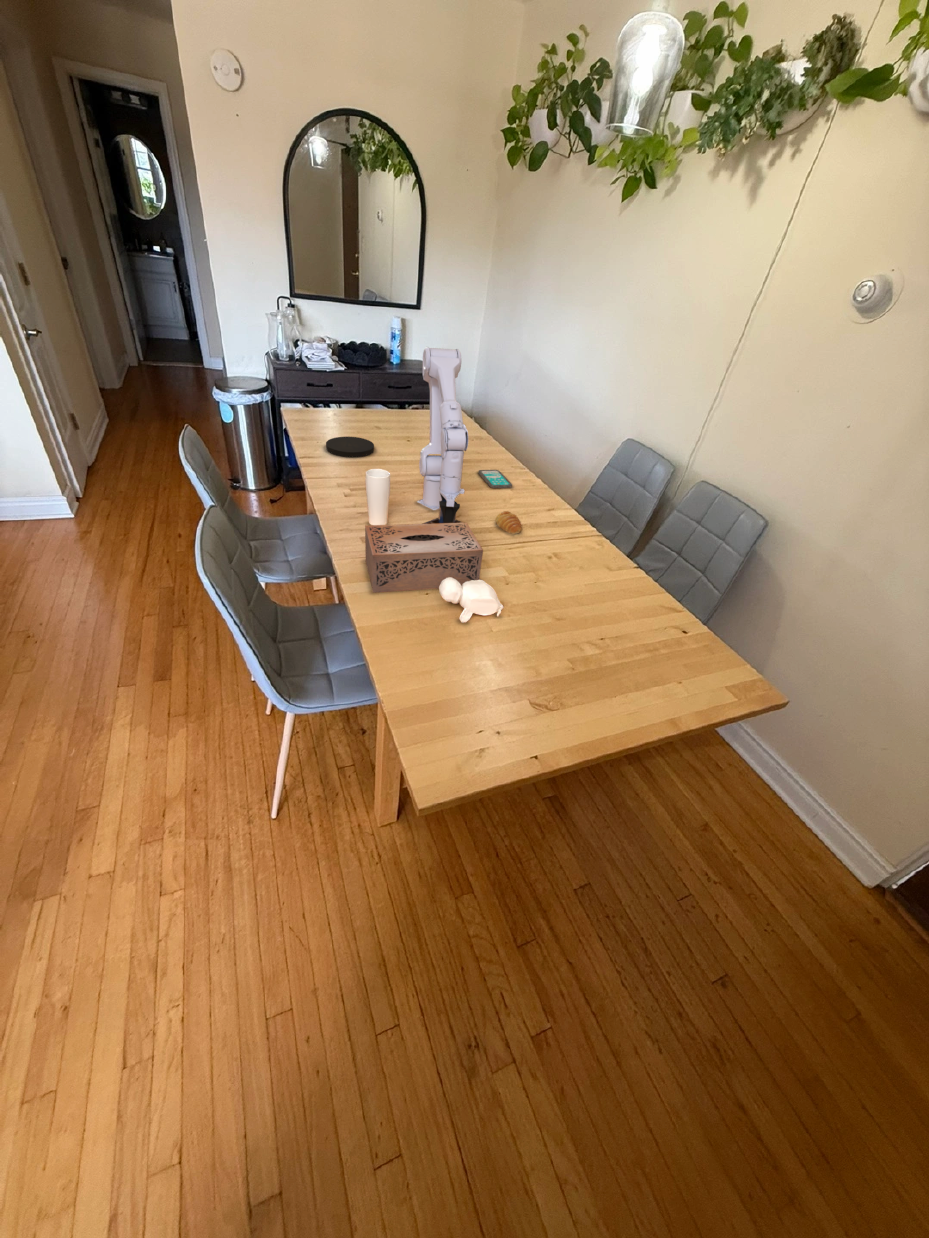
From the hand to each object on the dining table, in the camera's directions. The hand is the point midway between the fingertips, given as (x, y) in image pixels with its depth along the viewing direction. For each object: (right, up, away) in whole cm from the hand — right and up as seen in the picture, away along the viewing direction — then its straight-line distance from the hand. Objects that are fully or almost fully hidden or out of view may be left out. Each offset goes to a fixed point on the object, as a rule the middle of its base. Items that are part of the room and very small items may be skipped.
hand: (447, 519), depth 145 cm
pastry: (+18, -1, +8) cm, 20 cm away
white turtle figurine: (+6, -27, -29) cm, 40 cm away
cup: (0, -2, +2) cm, 3 cm away
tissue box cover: (-6, -17, -18) cm, 26 cm away
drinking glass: (-20, -1, +1) cm, 20 cm away
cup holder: (-3, -4, 0) cm, 5 cm away
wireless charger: (-39, +36, +48) cm, 72 cm away
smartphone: (+16, +22, +38) cm, 46 cm away
